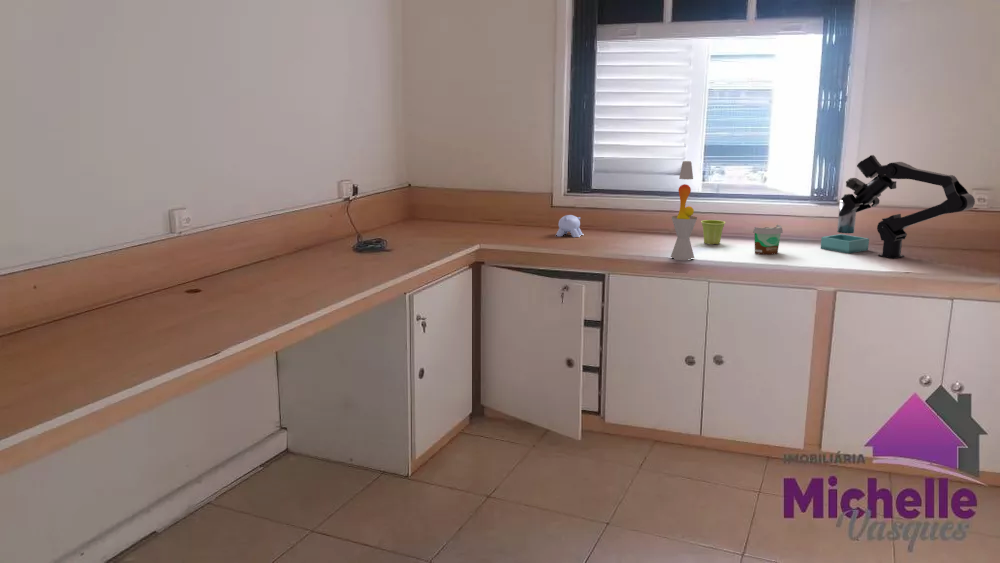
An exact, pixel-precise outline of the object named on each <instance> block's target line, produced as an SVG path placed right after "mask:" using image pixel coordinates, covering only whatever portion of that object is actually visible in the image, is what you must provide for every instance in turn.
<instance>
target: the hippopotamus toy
mask: <svg viewBox="0 0 1000 563" xmlns="http://www.w3.org/2000/svg"><path fill="white" fill-rule="evenodd" d="M557 225H558V230H557V232H556V234H555V236H556V235H557V236H556V237H564V236H565V235H564V234H566V235H568V233H570V235H571V237H572V238H575V237H579V238H581V237H582V236H581V235H583V236H584V233H583V232H582V229H581V228H580V226H581V216H578V217H577V216H576V215H573V214H565V215H563V216H562V217H561V218H559V220H558V224H557ZM563 235H564V236H563ZM580 236H581V237H580Z"/></svg>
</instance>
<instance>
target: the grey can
mask: <svg viewBox="0 0 1000 563" xmlns="http://www.w3.org/2000/svg"><path fill="white" fill-rule="evenodd" d="M838 204H839V207H838V215H837V218H838V219H837V230H836V232H837V233H839V234H855V228H856V216H857V212H856V211H854V212H851V213H848V214H846V215H843V216H840V215H839V213H840V211H841V209H842V208H843V206H844V202H843V201H842V200H841V199H839V203H838Z"/></svg>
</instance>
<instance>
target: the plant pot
mask: <svg viewBox="0 0 1000 563" xmlns="http://www.w3.org/2000/svg"><path fill="white" fill-rule="evenodd" d="M700 223H701V225H702V226H701V227H702V233H703V234H702V235H703V243H704V244H706V245H714V244H715V245H719V244H721V238H722V234H723V229H724V227H725V224H726V221H724V220H718V219H705V220H701V221H700Z"/></svg>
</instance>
